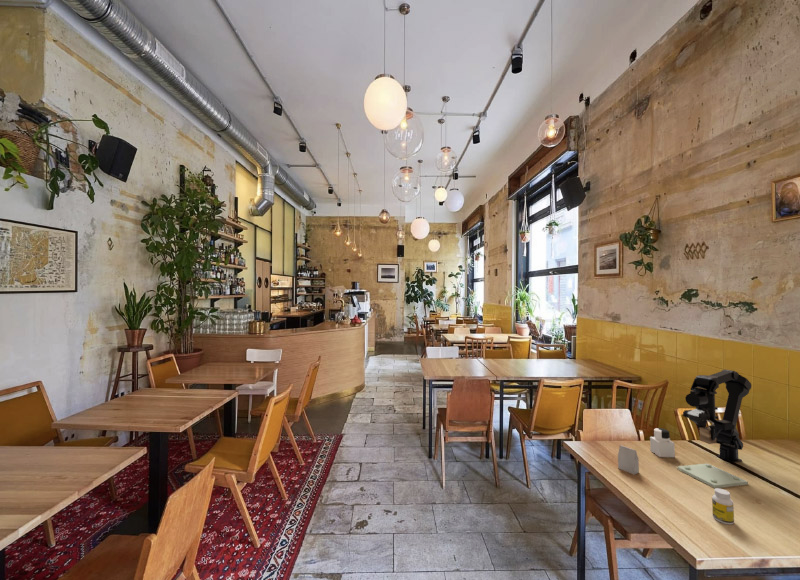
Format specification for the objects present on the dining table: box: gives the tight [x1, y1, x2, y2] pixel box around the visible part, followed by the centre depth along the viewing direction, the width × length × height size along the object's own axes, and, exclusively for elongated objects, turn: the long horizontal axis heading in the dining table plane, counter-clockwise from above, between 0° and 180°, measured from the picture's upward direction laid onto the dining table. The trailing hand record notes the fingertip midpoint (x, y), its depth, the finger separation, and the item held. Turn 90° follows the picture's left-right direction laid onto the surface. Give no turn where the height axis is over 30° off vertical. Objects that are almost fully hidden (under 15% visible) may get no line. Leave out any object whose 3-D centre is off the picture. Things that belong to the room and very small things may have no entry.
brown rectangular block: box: [699, 426, 717, 445], centre depth 159 cm, size 4×4×6 cm
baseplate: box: [676, 463, 749, 489], centre depth 148 cm, size 16×16×2 cm
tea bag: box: [617, 444, 640, 476], centre depth 154 cm, size 4×7×10 cm, turn 29°
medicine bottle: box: [649, 427, 676, 458], centre depth 170 cm, size 7×7×12 cm
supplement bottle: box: [711, 488, 735, 525], centre depth 119 cm, size 5×5×10 cm
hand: (708, 438), depth 158 cm, fingers closed on brown rectangular block, 4 cm apart
